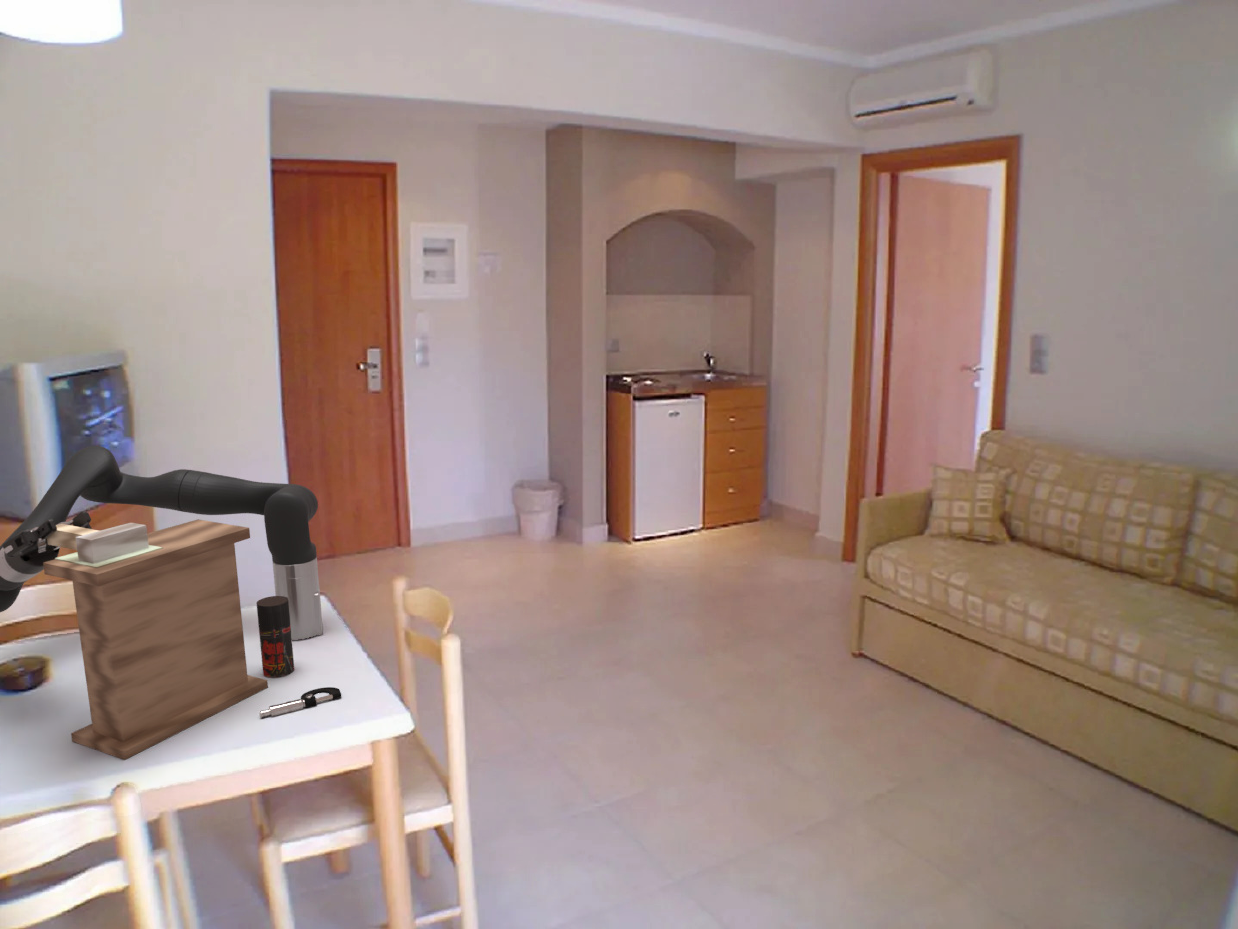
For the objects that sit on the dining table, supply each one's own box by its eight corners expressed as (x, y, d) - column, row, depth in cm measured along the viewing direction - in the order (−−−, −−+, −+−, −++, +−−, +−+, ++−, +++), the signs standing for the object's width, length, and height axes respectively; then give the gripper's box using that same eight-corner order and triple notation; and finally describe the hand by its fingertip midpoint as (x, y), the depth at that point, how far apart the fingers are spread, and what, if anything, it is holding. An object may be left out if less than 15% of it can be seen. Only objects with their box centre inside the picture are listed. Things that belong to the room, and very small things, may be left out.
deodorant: (257, 672, 184) (251, 601, 181) (285, 662, 188) (279, 593, 185) (271, 680, 180) (265, 608, 177) (299, 671, 184) (293, 600, 181)
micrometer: (334, 687, 178) (333, 675, 177) (345, 701, 172) (344, 688, 172) (253, 707, 170) (252, 694, 169) (262, 722, 164) (260, 709, 164)
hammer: (27, 549, 158) (24, 527, 157) (83, 535, 166) (80, 513, 165) (94, 563, 150) (90, 540, 149) (148, 547, 158) (146, 525, 157)
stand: (68, 740, 158) (42, 561, 151) (214, 673, 184) (197, 518, 177) (125, 760, 151) (100, 574, 144) (267, 687, 177) (252, 527, 170)
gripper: (-25, 547, 161) (18, 510, 153) (56, 527, 173) (100, 492, 165) (-7, 586, 161) (37, 550, 152) (73, 563, 173) (118, 529, 165)
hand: (70, 520), depth 159 cm, fingers open, 5 cm apart
